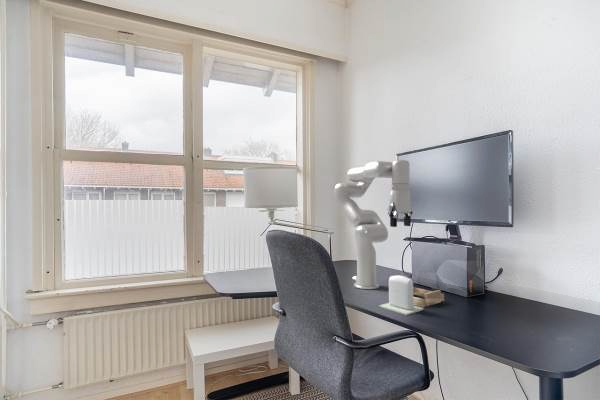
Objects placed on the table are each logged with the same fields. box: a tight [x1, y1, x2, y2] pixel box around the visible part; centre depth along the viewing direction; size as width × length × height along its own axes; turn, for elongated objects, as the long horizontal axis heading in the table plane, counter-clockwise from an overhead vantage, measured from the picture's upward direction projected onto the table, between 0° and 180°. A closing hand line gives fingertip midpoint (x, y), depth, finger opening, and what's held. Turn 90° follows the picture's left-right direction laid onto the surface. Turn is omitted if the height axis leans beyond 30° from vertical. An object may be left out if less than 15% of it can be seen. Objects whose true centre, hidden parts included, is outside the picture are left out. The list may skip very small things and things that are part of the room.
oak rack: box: [413, 286, 445, 309], centre depth 147 cm, size 15×15×5 cm
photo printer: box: [388, 275, 415, 310], centre depth 135 cm, size 10×4×12 cm, turn 38°
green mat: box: [378, 302, 424, 316], centre depth 135 cm, size 13×11×1 cm
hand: (400, 226), depth 149 cm, fingers open, 9 cm apart
